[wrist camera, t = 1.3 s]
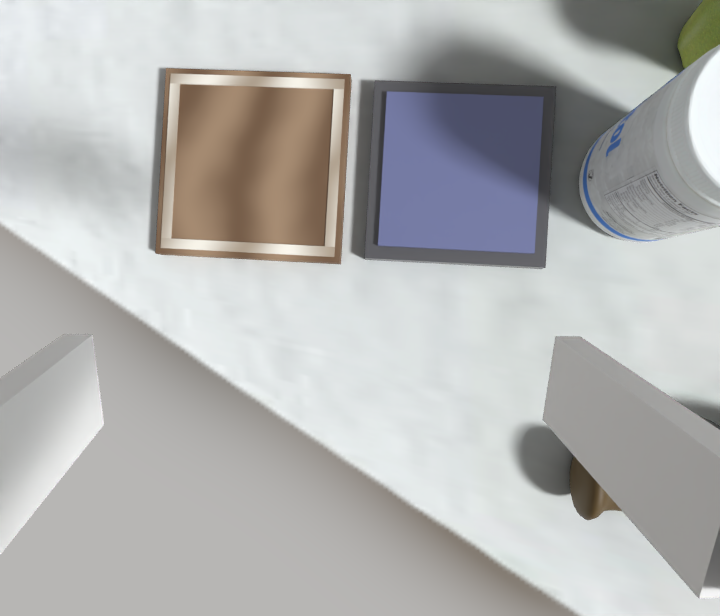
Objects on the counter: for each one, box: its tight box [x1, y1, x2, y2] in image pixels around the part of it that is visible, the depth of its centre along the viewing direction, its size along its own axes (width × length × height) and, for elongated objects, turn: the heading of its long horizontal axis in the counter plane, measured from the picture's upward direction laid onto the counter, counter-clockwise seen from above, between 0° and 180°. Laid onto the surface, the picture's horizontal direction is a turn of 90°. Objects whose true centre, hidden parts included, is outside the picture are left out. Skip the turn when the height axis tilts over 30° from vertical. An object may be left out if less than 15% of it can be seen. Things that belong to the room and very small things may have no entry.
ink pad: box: [365, 81, 556, 269], centre depth 39 cm, size 14×14×2 cm
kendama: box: [570, 456, 622, 520], centre depth 36 cm, size 6×10×20 cm
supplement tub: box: [579, 45, 720, 243], centre depth 32 cm, size 10×10×15 cm
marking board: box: [155, 68, 351, 264], centre depth 40 cm, size 15×15×1 cm
